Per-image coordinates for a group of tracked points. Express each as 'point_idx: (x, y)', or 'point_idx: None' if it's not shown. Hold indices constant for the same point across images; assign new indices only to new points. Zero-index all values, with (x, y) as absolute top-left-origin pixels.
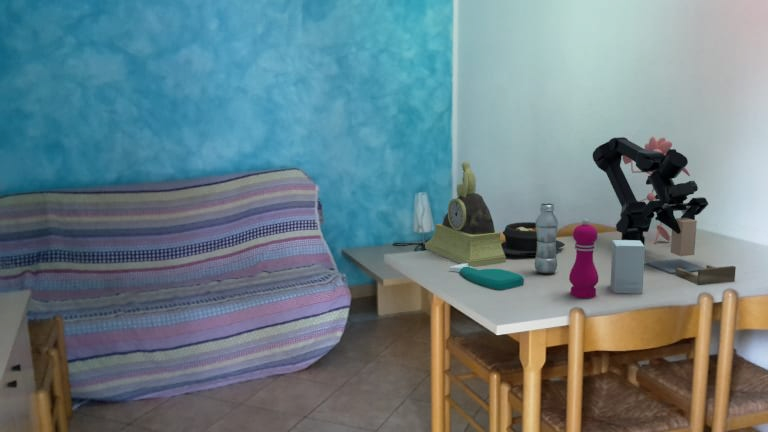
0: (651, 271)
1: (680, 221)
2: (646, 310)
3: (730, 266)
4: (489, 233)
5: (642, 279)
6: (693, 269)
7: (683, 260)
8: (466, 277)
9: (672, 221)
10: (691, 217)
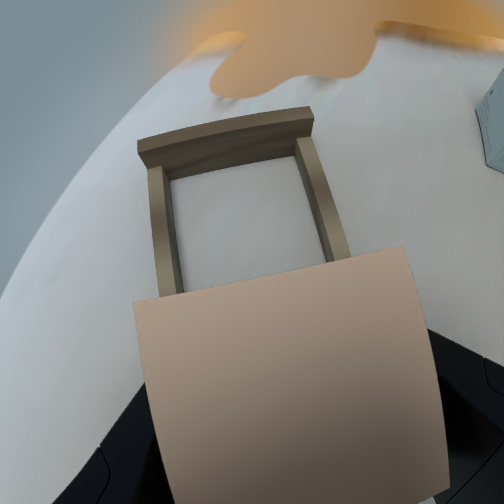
0: None
1: (417, 309)
2: (461, 42)
3: (154, 143)
4: None
5: (492, 85)
6: None
7: None
8: None
9: (488, 369)
10: (134, 478)
